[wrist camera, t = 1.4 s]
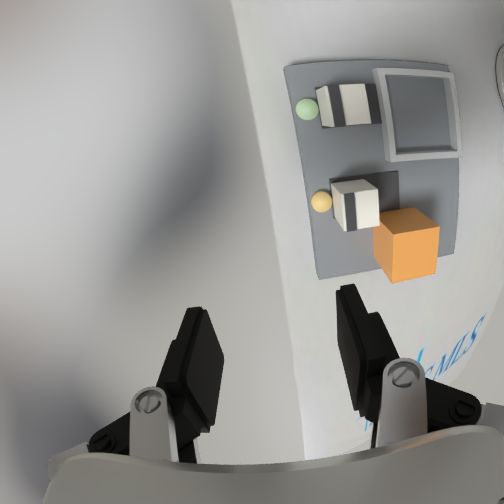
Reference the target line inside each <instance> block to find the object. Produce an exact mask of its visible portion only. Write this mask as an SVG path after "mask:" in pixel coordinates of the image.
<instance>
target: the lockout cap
mask: <svg viewBox="0 0 504 504" xmlns="http://www.w3.org/2000/svg"><path fill="white" fill-rule="evenodd" d="M379 223H380V226H375V227H373V242H374V257H375V259H376V260H377V262H378V263H379V265H380V266H381V268H382V269H383V271H384V272H385V274H386V275H387V277H388V279H389V280H390V282H391V283H396V282H400V281H405V280H410V279H414V278H419V277H423V276H427V275H432V274H435V272H436V263H437V254H438V244H439V231H440V226H438V225H437V224H436V223H435V222H433V221H432V220H431V219H429V218H428V217H427V216H425V215H424V214H423V213H421V212H420V211H419V210H417V209H416V208H415V207H411V208H404V209H397V210H391V211H384V212H379Z"/></svg>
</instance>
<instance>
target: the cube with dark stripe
mask: <svg viewBox="0 0 504 504" xmlns="http://www.w3.org/2000/svg"><path fill="white" fill-rule="evenodd" d="M331 189H332V198H333V207H334V216H335V218H336V219H337V221H338V222H339V224H340V226H341V227H342V229H343V230H344V231H347V232H350V231H356V230H357V229H362V228H368V227H375V226H380V223H379V199H378V189H377V188H376V187H374V186H373V185H371V184H370V183H369V182H367V181H366V180H364V179H360V180H352V181H345V182H338V183H331Z"/></svg>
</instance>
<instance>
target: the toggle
mask: <svg viewBox="0 0 504 504" xmlns="http://www.w3.org/2000/svg"><path fill="white" fill-rule="evenodd" d="M316 94H317V100H318V105H319V110H320V116H321V121H322V126H329V127H338V126H346V125H357V124H370V123H371V119H370V112H369V106H368V100H367V94H366V89H365V84H346V85H329V86H324V87H322V88H320V89H318V90H316Z"/></svg>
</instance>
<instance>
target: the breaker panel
mask: <svg viewBox="0 0 504 504" xmlns="http://www.w3.org/2000/svg"><path fill="white" fill-rule="evenodd" d="M283 71H284V75H285V80H286V84H287V89H288V94H289V98H290V103H291V108H292V113H293V119H294V124H295V129H296V135H297V140H298V146H299V151H300V157H301V163H302V169H303V176H304V182H305V189H306V195H307V202H308V209H309V217H310V224H311V232H312V240H313V248H314V257H315V266H316V272H317V275H318V278H319V280H321V279H327V278H332V277H338V276H344V275H350V274H355V273H361V272H366V271H371V270H377V269H382V268H381V266H380V265H379V263H378V262H377V260H376V259H375V257H374V242H373V227H368V228H362V229H357V230H356V231H350V232H347V231H344V230H343V229H342V227H341V226H340V224H339V222H338V221H337V219H336V218H335V216H334V207H333V198H332V189H331V183H338V182H345V181H352V180H360V179H364V180H366V181H367V182H369V183H370V184H371V185H373V186H374V187H376V188H377V189H378V199H379V212H384V211H391V210H397V209H404V208H411V207H415V208H416V209H417V210H419V211H420V212H421V213H423V214H424V215H425V216H427V217H428V218H429V219H431V220H432V221H433V222H435V223H436V224H437V225H438V226H440V231H439V244H438V254H437V257H441V256H446V255H450V254H454V249H455V240H456V230H457V217H458V198H459V158H462V138H461V125H460V115H459V106H458V99H457V92H456V85H455V79H454V74H453V73H451V72H449V69H448V65H442V64H434V63H423V62H411V61H391V60H351V61H331V62H317V63H307V64H298V65H290V66H285V67H284V70H283ZM346 84H365V89H366V94H367V100H368V106H369V112H370V119H371V123H370V124H357V125H346V126H338V127H329V126H322V121H321V116H320V110H319V105H318V100H317V94H316V90H318V89H320V88H322V87H324V86H329V85H346Z"/></svg>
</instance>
